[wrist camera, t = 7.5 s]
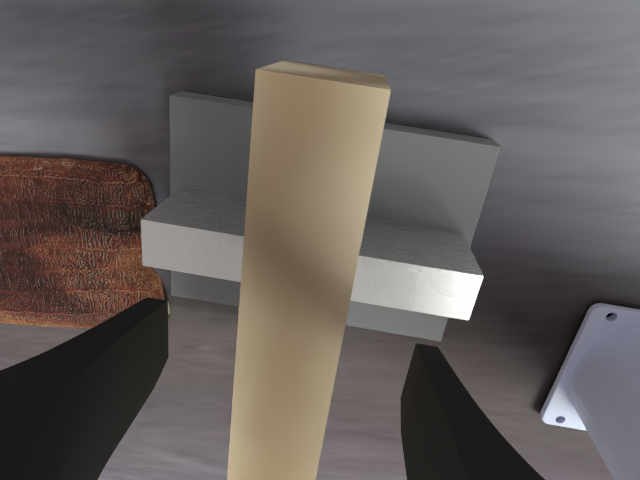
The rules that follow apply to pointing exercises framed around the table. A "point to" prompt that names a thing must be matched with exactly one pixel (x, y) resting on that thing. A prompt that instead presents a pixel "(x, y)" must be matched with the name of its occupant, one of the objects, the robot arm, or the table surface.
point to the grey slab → (385, 201)
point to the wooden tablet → (72, 241)
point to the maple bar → (299, 258)
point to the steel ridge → (372, 268)
